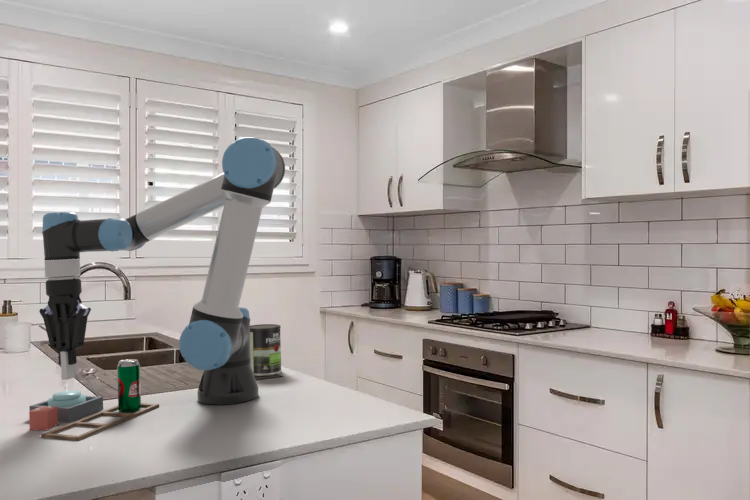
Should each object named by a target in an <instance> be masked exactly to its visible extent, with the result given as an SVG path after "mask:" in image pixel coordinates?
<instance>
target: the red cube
mask: <svg viewBox="0 0 750 500" xmlns="http://www.w3.org/2000/svg"><path fill="white" fill-rule="evenodd" d="M28 414H29V417H28V420H29V431H45V430H46V431H49V430H51V429H52V428H54V427H55V426H58V424H59V421H58V411H57V406H53V407H52V406H48V407H38V408H36V409H34V410H32V411H30V410H29V412H28Z"/></svg>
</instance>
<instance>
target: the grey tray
mask: <svg viewBox="0 0 750 500" xmlns="http://www.w3.org/2000/svg"><path fill="white" fill-rule="evenodd" d="M85 396H86V401H85V402H82V403H79V404H77V405H74V406H71V407H57V411H58V422H64V423H70V422H74V421H77V420H79V419H80V418H81V419H82V418H85V417H87V416H90V415H93V414H95V413H98V412H100V411H103V410H104V397H103V396H98V395H97V396H95V395H85ZM38 407H48V399H47V400H44V401H41V402H38V403H36V404H31V405H29V407H28V408H29V411H32V410H34V409H36V408H38ZM52 407H53V406H52ZM99 410H100V411H99Z"/></svg>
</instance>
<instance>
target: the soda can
mask: <svg viewBox="0 0 750 500" xmlns="http://www.w3.org/2000/svg"><path fill="white" fill-rule="evenodd" d="M116 374H117V375H116V377H117V382H116V383H117V404H118V405H117V406H118V410H117V411H119V413H135V412H137V411H140V410H141V408H142V407H141V403H142V400H141V398H142V397H141V396H142V394H141V392H142V391H141V365H140V362H139V360H138V359H136V358H128V359H121V360H119V361H118V364H117V366H116Z"/></svg>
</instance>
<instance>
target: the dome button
mask: <svg viewBox="0 0 750 500" xmlns="http://www.w3.org/2000/svg"><path fill="white" fill-rule="evenodd" d="M86 396H87V395H85V394H84V393H82V392H81V391H79V390H65V391H60V392H55V393H54V394H52V397H50V398H48V399H47V400H48V406H57V407H71V406H74V405H77V404H79V403H82V402H85V401H86Z"/></svg>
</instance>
